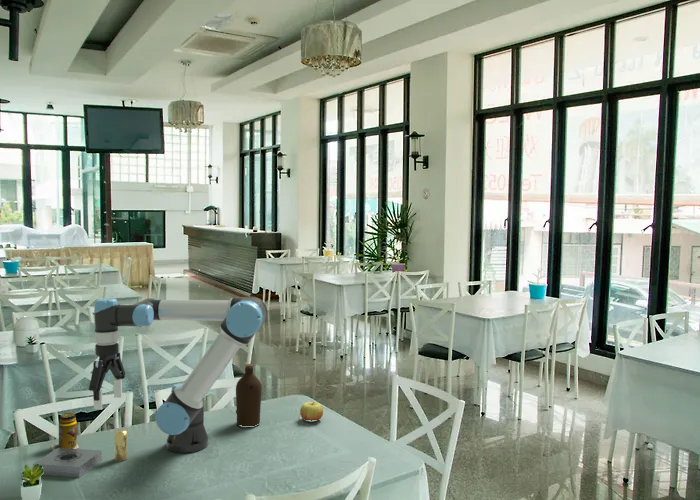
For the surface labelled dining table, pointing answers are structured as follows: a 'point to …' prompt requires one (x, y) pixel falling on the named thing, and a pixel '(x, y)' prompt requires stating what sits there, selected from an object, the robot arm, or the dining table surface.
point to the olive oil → (248, 398)
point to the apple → (311, 411)
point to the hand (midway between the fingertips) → (108, 403)
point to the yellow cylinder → (120, 445)
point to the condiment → (67, 432)
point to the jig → (69, 462)
